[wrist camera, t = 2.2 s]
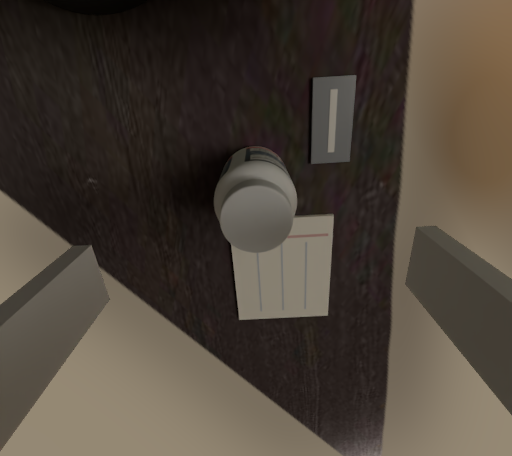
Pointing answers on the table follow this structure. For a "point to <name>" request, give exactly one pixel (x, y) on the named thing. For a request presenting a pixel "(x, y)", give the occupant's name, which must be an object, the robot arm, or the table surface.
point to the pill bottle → (255, 200)
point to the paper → (287, 273)
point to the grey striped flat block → (332, 118)
